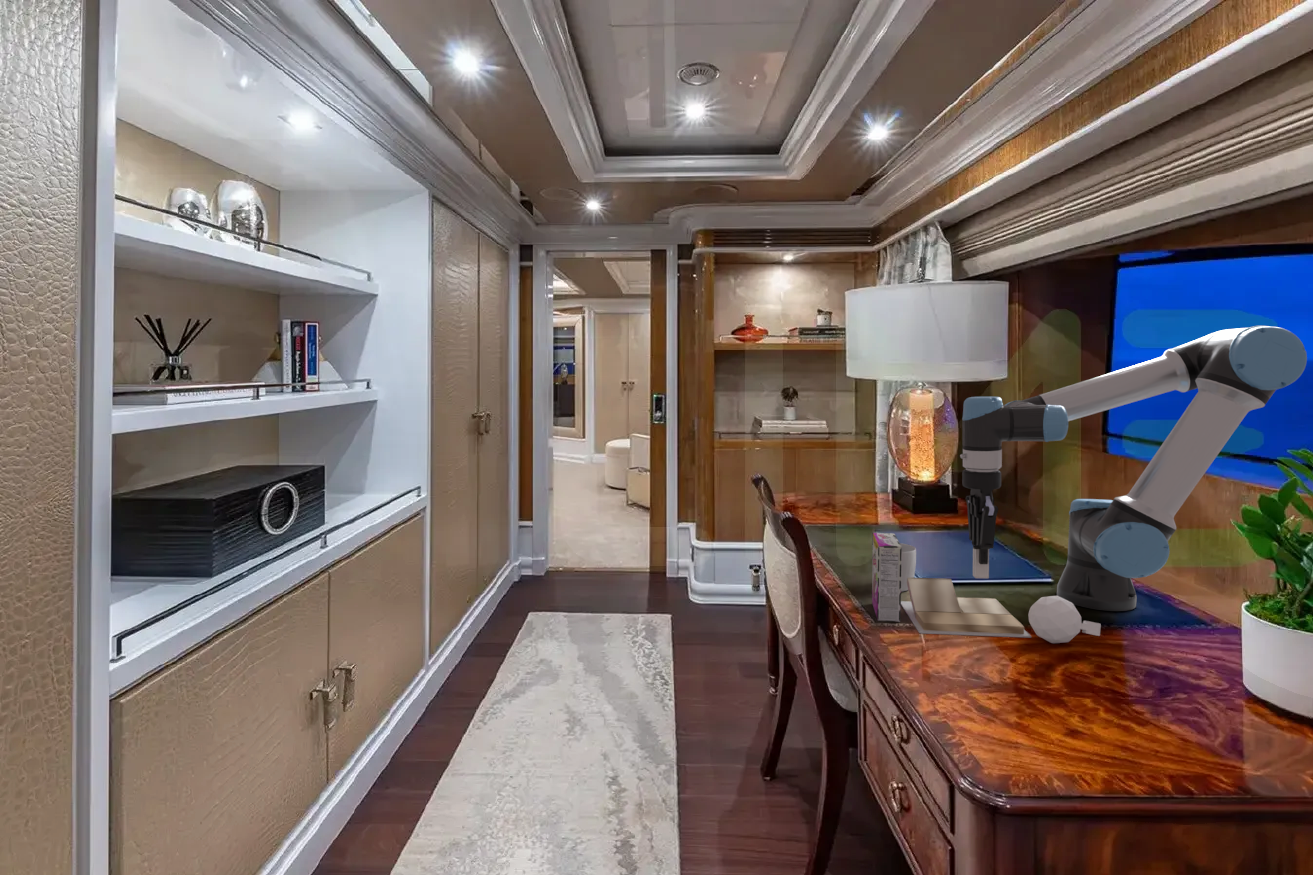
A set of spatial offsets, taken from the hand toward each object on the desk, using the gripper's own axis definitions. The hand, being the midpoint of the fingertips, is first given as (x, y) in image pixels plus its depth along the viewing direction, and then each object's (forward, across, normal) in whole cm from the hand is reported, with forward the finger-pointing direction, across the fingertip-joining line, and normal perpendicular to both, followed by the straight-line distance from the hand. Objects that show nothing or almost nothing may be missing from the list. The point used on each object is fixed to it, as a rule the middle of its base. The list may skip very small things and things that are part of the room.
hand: (980, 576), depth 148 cm
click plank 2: (+7, +2, -1) cm, 7 cm away
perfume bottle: (+8, +16, +10) cm, 21 cm away
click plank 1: (+4, +2, -11) cm, 12 cm away
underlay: (+7, +6, -6) cm, 11 cm away
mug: (+7, -16, -14) cm, 22 cm away
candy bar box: (+7, +4, -21) cm, 22 cm away
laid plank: (+7, +10, -6) cm, 14 cm away
